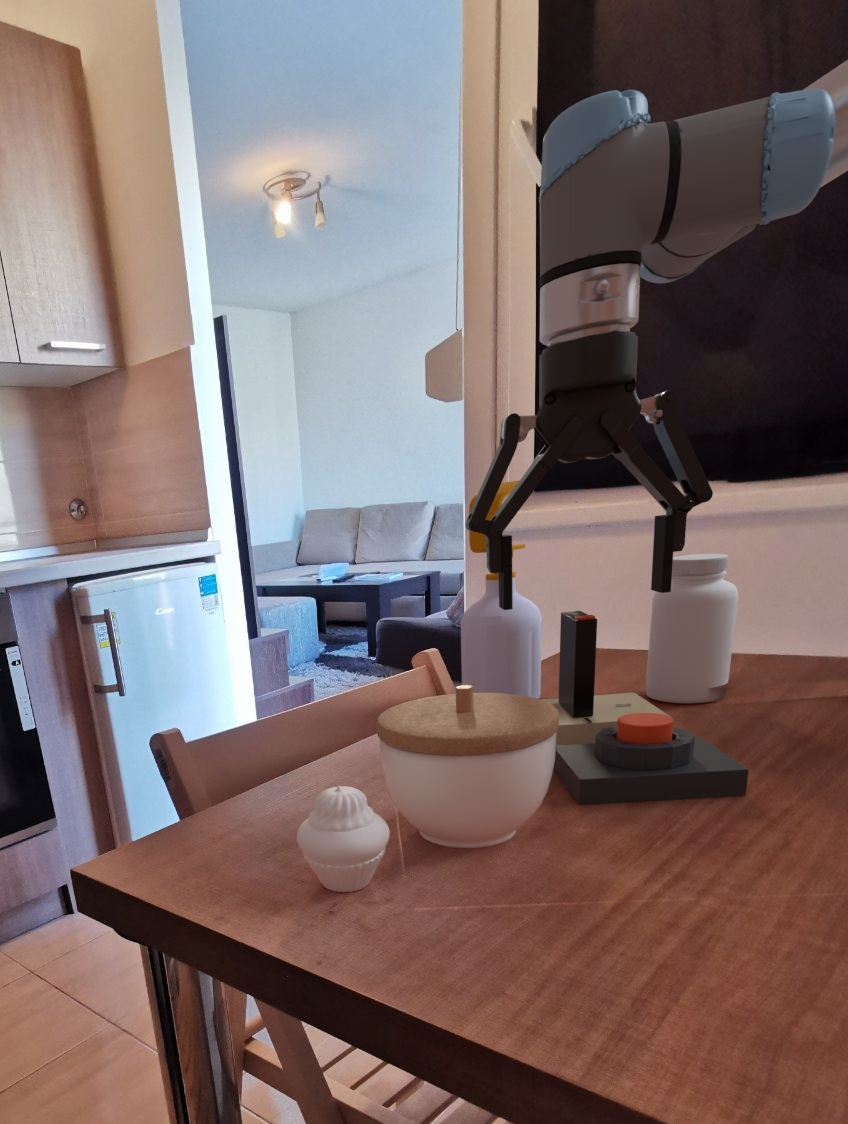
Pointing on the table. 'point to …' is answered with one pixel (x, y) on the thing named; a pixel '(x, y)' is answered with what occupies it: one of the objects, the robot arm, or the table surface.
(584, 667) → the black rectangular block
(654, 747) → the switch block
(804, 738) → the table surface
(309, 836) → the muffin
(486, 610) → the soap bottle
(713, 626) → the pill bottle
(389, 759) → the lidded bowl
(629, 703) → the plate
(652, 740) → the button
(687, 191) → the robot arm
